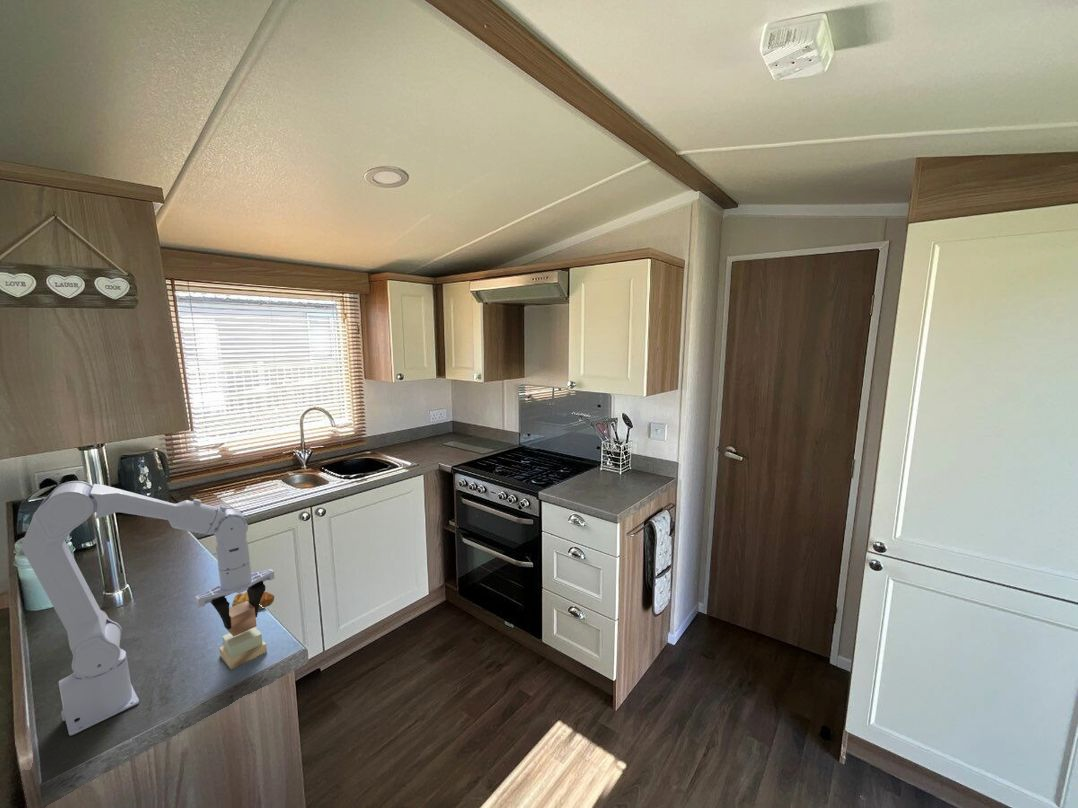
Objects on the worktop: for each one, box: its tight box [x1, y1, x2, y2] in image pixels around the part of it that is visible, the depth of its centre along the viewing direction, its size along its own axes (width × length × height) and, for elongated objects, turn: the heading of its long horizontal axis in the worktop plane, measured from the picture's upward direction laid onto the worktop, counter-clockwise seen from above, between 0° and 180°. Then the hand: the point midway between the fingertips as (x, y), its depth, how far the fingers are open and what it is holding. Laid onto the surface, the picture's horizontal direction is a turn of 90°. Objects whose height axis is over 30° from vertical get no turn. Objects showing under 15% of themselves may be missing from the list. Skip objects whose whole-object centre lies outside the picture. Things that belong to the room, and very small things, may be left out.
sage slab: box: [221, 626, 263, 658], centre depth 100 cm, size 6×6×2 cm
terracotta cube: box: [227, 601, 257, 637], centre depth 100 cm, size 4×4×4 cm
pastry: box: [231, 591, 275, 611], centre depth 119 cm, size 9×7×4 cm
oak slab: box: [219, 639, 268, 670], centre depth 101 cm, size 7×7×2 cm
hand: (241, 621), depth 100 cm, fingers closed on terracotta cube, 4 cm apart
